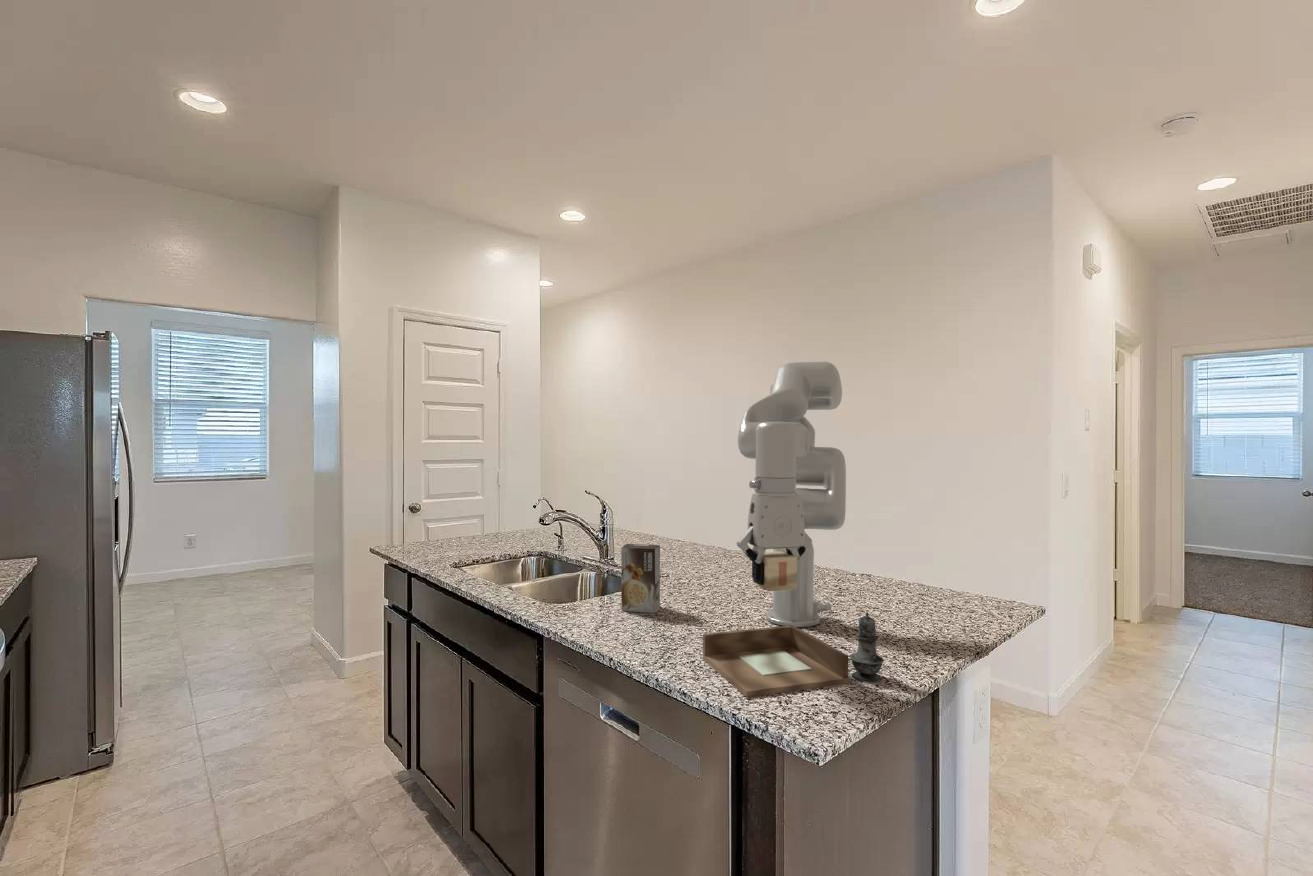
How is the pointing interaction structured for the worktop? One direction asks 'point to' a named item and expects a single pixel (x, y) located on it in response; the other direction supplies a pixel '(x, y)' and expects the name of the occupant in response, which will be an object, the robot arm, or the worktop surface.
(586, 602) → the worktop surface
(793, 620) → the robot arm
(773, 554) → the maple cube
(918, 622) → the worktop surface
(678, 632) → the worktop surface
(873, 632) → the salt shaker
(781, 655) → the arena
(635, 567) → the coffee box
